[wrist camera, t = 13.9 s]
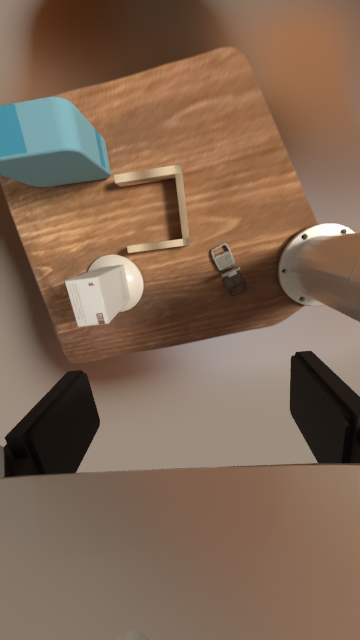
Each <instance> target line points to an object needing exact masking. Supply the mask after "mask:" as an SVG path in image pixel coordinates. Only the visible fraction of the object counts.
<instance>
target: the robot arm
mask: <svg viewBox="0 0 360 640" xmlns="http://www.w3.org/2000/svg"><path fill="white" fill-rule="evenodd" d="M340 231H341V233H340ZM302 235H303V238H301V236H302ZM283 269H284V272H282V270H283ZM278 278H279V282H280V285H281V287H282V289H283V290H284V292H285V293H286V294H287V295H288V296H289V297H290V298H291V299H293V300H294V301H296V302H298V303H300V304H303V305H307V306H322V305H327V306H329V307H331V308H333V309H335V310H337V311H339V312H341V313H343V314H345V315H347V316H349V317H351V318H353V319H355V320H357V321H359V322H360V233H355V232H354V231H352V230H351V229H350V228H348V227H346V226H343V225H341V224H336V223H323V224H317V225H314V226H311V227H308V228H306V229H304V230H302V231H301V232H299V233H298V234H297V235H296V236H294V237H293V238H292V239H291V240H290V242H289V243H288V244H287V245H286V247H285V248H284V250H283V252H282V254H281V257H280V260H279V264H278ZM300 297H301V299H299V298H300ZM290 411H291V415H292V417H293V419H294V420H295V422H296V424H297V426H298V428H299V429H300V431H301V433H302V434H303V437H304V438H305V440H306V442H307V444H308V445H309V447H310V449H311V451H312V453H313V454H314V456H315V458H316V460H317V462H318V463H313V464H286V465H285V464H284V465H256V466H228V467H202V468H201V467H200V468H175V469H152V470H130V471H129V470H128V471H109V472H108V471H107V472H86V473H76V471H77V469H78V467H79V465H80V463H81V461H82V459H83V457H84V455H85V454H86V452H87V450H88V447H89V446H90V444H91V442H92V440H93V437H94V435H95V434H96V432H97V430H98V428H99V425H100V419H99V415H98V412H97V408H96V405H95V401H94V398H93V395H92V391H91V387H90V384H89V380H88V377H87V374H86V373H83V371H81V370H78V371H68V372H67V373H66V374H65V375H64V376H63V377H62V378H61V379H60V380H59V381H58V382H57V383H56V384H55V386H54V387H53V388H52V389H51V390H50V391H49V392H48V393H47V394H46V395H45V396H44V397H43V398H42V399H41V400H40V401H39V402H38V403H37V404H36V405H35V406H34V408H32V409H31V411H30V412H29V413H28V414H27V415H26V416H25V417H24V418H23V419H22V420H21V421H20V422H19V423H18V424H17V425H16V426H15V427H14V428H13V429H12V430H11V431H10V432H9V433H8V434H7V436H6V437H5V439H6V442H7V444H6V445H5V447H4V448H3V447H2V446H0V640H360V397H359V396H358V395H357V394H356V393H355V392H354V391H353V390H352V389H351V388H350V387H349V386H348V385H347V384H346V383H344V382H343V381H342V380H341V379H340V378H339V377H338V376H337V375H336V374H335V373H334V372H333V371H332V370H331V369H330V368H329V367H328V366H327V365H325V364H324V363H323V362H322V361H321V360H320V359H319V358H318V357H317V356H316V355H315V354H314V353H313V352H312V351H303V352H296V354H295V356H292V357H291V381H290Z"/></svg>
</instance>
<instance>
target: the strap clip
mask: <svg viewBox="0 0 360 640" xmlns="http://www.w3.org/2000/svg"><path fill="white" fill-rule="evenodd" d="M224 245H225V246H226V248H227V249H228V250H227V251H225V252H223V253H221V254H219V255H217V256H215V257H214V254H213V251H214V250H216V249H218V248H220V247H222V246H224ZM211 255H212V258H213V260H214V262H215V264H216V266H217V267H218V269H219V270H221V271H224V270H226V269H228V268H230V267H232V266H234V263H235V261H234V258H233V255H232V253H231V250H230V248H229V246H228V245H227V244H226V243H223V244H220V245H218V246H217V247H215V248H213V249H212V250H211ZM238 270H240V267H239V266H238V267H235V268H233V269H231V270H229V271H227V272H225V273H223V274H221V277H222V278H223V281H224V283H225V286H226V288H227V291H228V292H229V294H230V295H231V296H234V295H236V294H238V293H241V292H243V291H245V290H246V287H245V283H244V281H243V279H242V277H241V275H240V273H239V271H238ZM241 284H243V287H244V288H243V289H242V290H240V291H238V292H236V293H234V294H232V293H231V292H230V289H232V288H235V287H237V286H239V285H241Z"/></svg>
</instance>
